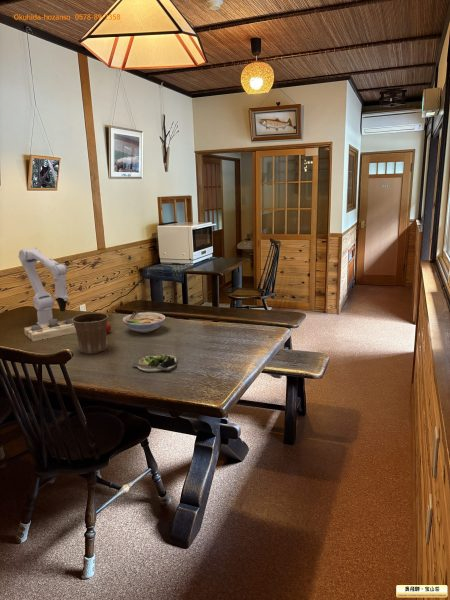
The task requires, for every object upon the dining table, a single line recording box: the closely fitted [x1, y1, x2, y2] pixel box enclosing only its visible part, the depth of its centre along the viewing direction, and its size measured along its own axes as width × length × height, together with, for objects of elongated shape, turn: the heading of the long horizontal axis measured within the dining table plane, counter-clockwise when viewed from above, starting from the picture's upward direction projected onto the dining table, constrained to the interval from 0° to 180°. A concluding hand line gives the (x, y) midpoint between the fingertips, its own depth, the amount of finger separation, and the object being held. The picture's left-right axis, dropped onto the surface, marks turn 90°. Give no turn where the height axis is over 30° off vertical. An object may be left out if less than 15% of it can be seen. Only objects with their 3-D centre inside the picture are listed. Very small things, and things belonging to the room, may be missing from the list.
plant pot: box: [71, 312, 109, 355], centre depth 205 cm, size 16×16×16 cm
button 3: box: [65, 318, 74, 325], centre depth 239 cm, size 4×4×4 cm
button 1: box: [30, 324, 41, 331], centre depth 228 cm, size 4×4×4 cm
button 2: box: [49, 318, 59, 328], centre depth 233 cm, size 4×4×4 cm
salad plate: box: [130, 354, 178, 373], centre depth 188 cm, size 19×18×5 cm
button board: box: [23, 319, 77, 342], centre depth 233 cm, size 15×27×4 cm, turn 130°
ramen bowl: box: [122, 309, 166, 334], centre depth 235 cm, size 25×23×8 cm
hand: (62, 311), depth 238 cm, fingers closed
